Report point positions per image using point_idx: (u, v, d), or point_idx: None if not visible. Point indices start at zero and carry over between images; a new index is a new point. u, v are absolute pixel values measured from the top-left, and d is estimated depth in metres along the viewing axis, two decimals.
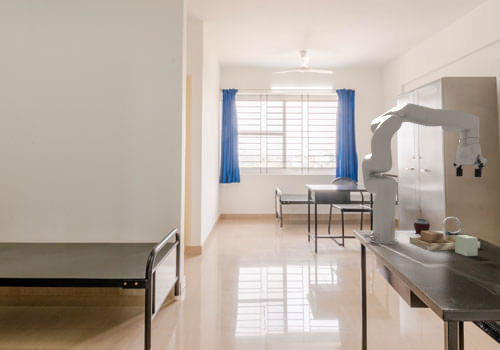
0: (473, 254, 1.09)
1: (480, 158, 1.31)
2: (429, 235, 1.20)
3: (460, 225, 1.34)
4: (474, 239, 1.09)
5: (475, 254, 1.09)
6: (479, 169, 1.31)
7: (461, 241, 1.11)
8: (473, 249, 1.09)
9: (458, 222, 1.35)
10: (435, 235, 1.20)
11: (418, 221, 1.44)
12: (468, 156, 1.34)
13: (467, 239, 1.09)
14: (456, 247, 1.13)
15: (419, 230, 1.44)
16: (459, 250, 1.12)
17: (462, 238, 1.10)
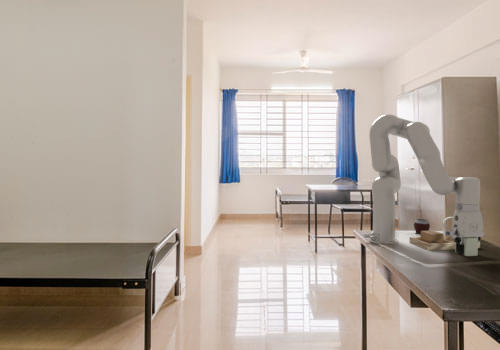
0: (473, 254, 1.09)
1: None
2: (429, 235, 1.20)
3: None
4: (474, 239, 1.09)
5: (475, 254, 1.09)
6: None
7: None
8: (473, 248, 1.09)
9: None
10: (435, 235, 1.20)
11: (418, 221, 1.44)
12: (478, 227, 1.09)
13: (467, 239, 1.09)
14: None
15: (419, 230, 1.44)
16: None
17: None
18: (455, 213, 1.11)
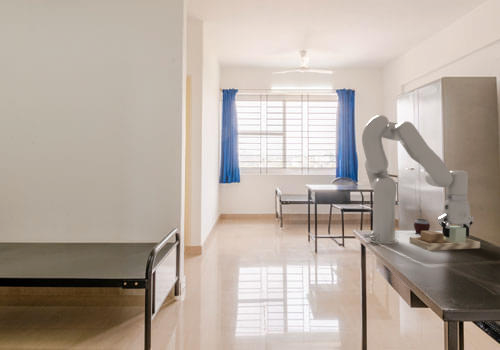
0: None
1: None
2: (429, 235, 1.20)
3: (460, 225, 1.34)
4: (462, 229, 1.22)
5: None
6: None
7: (451, 231, 1.24)
8: (461, 237, 1.22)
9: None
10: (435, 235, 1.20)
11: (418, 221, 1.44)
12: (466, 215, 1.22)
13: (456, 229, 1.21)
14: None
15: (419, 230, 1.44)
16: (449, 239, 1.25)
17: (452, 228, 1.23)
18: (445, 203, 1.24)
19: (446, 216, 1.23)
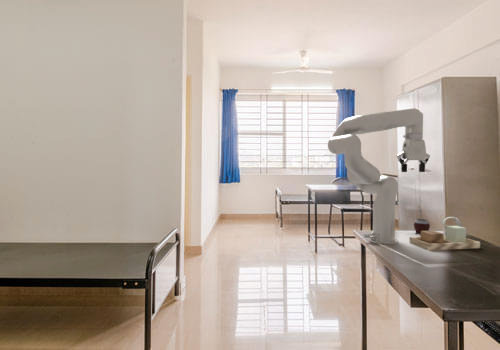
0: None
1: None
2: (429, 235, 1.20)
3: (460, 225, 1.34)
4: (462, 229, 1.22)
5: None
6: None
7: (451, 231, 1.24)
8: (461, 237, 1.22)
9: (458, 222, 1.35)
10: (435, 235, 1.20)
11: (418, 221, 1.44)
12: (421, 151, 1.35)
13: (456, 229, 1.21)
14: (447, 236, 1.26)
15: (419, 230, 1.44)
16: (449, 239, 1.25)
17: (452, 228, 1.23)
18: (404, 142, 1.38)
19: (404, 153, 1.36)
